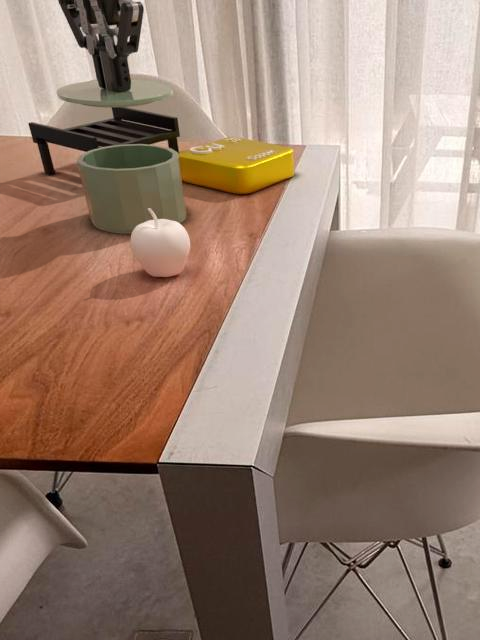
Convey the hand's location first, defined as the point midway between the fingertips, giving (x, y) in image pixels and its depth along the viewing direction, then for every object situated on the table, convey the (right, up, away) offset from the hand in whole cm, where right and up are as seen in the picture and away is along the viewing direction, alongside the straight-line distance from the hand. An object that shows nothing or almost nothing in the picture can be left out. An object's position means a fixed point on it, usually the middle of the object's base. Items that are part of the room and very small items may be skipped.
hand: (115, 88), depth 91 cm
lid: (0, 0, 0) cm, 1 cm away
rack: (-11, +2, +29) cm, 31 cm away
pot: (0, -13, +11) cm, 17 cm away
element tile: (+11, 0, +27) cm, 30 cm away
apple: (+8, -26, -4) cm, 28 cm away
